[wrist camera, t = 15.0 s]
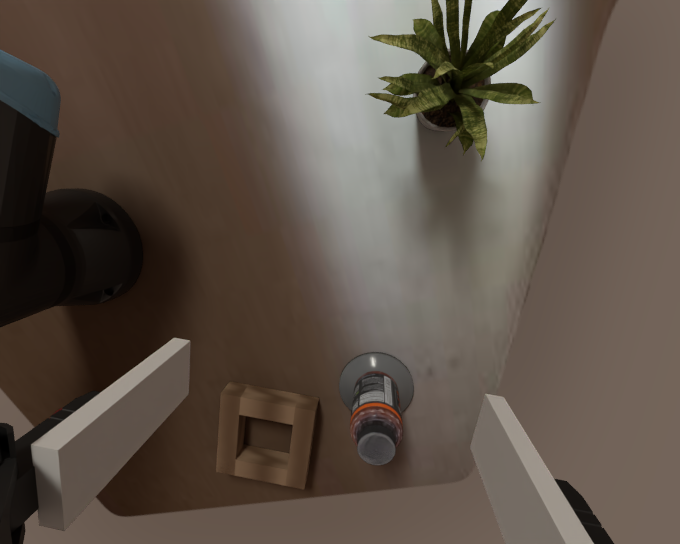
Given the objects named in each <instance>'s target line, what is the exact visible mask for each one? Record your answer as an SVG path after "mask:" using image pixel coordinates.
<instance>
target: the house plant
mask: <svg viewBox="0 0 680 544" xmlns="http://www.w3.org/2000/svg"><path fill="white" fill-rule="evenodd" d="M431 1H432V12H433V24H432V23H431V22H430V21H428V20H426V19H414V20H413V21H414V31H415V33H416V35H415V34H410V35H378V36H374V37H370V38H372V39H373V40H377V41H380V42H383V43H385V44H389V45H393V46H397V47H400V48H404V49H407V50H411V51H414V52H415V53H417V54H419V55H420V56H421V57H422V58H423V59H424V60H425V61H426V62H425V63H424V64H423V66H422V67H421V69H420V70H419V72H418V74H417V73H409V74H404V75H402V76H400V77H387V76H385V77H382V78H379V79H381V80H384V81H387V82H389V83H391V84H389V85H388V86H387V87H386V88H384V89H383V90H387V91H389V92H391V93H392V94H394V95H391V94H382V93H369V94H368V95H371V96H372V97H374V98H376V99H380V100H383V101H387V102H390V103H391V104H392V105H391V106H390V108H389V109H388V110H387V111H386V112H385V113H384V114H388V115H390V116H392V117H405V116H408V115H411V114H415V113H416V114H417V116H418V119H419V121H420V122H421V123H422V124H423V125H424V126H425V127H426V128H428V129H431V130H436V131H453V130H457V131H456V132H455V134H454V135H453V136H452V137H451V139H450V140H449V142H448V143H447V145H446V147H447V146H448V145H449V144H450V143H451V142H452V141H453V140H454V139H455V138H456V137H457V136H458V137H459V140H460V142H461V144H462V146H463V150H464V153H463V155H464V154H465V152H466V151H467V150H468V149H469V147H470V146H471V145H472V144H473V140H474V142H475V145H476V149H477V151H478V153H479V154H480V156H481V158H482V159H483V157H484V155H485V149H486V144H487V128H486V124H485V119H484V112H483V111H484V109H485V107H486V105H487V102H488V100H492V101H495V102H499V103H504V104H534V103H539V102H536V101H534V100H533V97H532V91H531V90H530V89H529V88H528V87H527V86H525V85H523V84H518V83H498V84H491V78H490V76H492V75H493V74H495V73H496V72H498V71H499V70H501V69H502V68H504V67H506V66H507V65H509V64H511V63H513V62H514V61H516V60H517V59H518V58H520V57H521V56H522V55H524V54H525V53H526V52H527V51H528V50H529V49H530V48H531V47H532V46H533V45H534V44H535V43H536V42H537V41H538V40H539V39H540V38H541V37H542V36H543V35H544V34H545V32H546V31H547V30H548V28H549V27H550V26H551V25H552V24H553V22H554V21H555V20H554V21H552V22H550V23H548V24H546V25H545V26H543V27H542V28H541V29H540V30H539V31H538V32H536V33H535V34H533V35H531V34H532V33H533V31H534V30H535V29H536V28H537V27H538V25H539V24H540V23H541V21H542V19H543V18H544V16H545V14H546V13H547V11H548V10H546V11H545V12H544V13H543V14H541V15H540V16H539V17H538V18H537V19H536V20H535V22H534V23H533V24H531V25H529V26H528V27H527V28H525V29H524V30H523V31H522V32H521V33H520V34H519V35H518V36H517V37H515V38H514V39H513V40H512V41H511V42H510V43H509V44H508V45H506V46H505V47H504V48H503V46H504V44H505V40H506V36H507V35H508V34H510V33H511V32H512V31H513V30H514V29H515V28H516V27H517V26H519V25H520V24H521V23H522V22H523V21H525V20H526V19H528V18H530V17H531V16H533V15H534V14H535V13H536V12H537V11H538V10H539V9H541V8H538V9H535V10H533V11H530V12H527V13H525V14H523V15H521V16H519V17H517V18H515V19H513V20H512V18H513V17H514V16H515V15H516V13H517V12H518V11H519V10H520V9H521V8H522V6H523V5H524V4H525V3H526V2H527V0H509V1H508V2H507V3H506V5H505V6H504V7H503V8H502V10H501V11H498V10H496V11H494V12H491V13H490V14H488V15H487V16H486V18H485V19H484V21H483V23H482V25H481V27H480V29H479V32H478V34H477V36H476V38H475V40H474V42H473V43H472V45H471V47H470V48H469V50H467V43H468V29H469V21H470V14H471V6H472V0H465V5H464V14H463V27H462V41H461V48H460V39H459V0H446V15H447V33H448V37H449V43H450V49H447V47H446V43H445V37H444V28H443V14H442V11H441V8H440V5H439V3H438V0H431ZM548 9H549V8H548ZM556 18H557V17H556ZM410 94H413V97H412V98H404V97H400V96H403V95H410ZM365 95H366V94H365ZM395 95H399V96H395ZM446 147H445V148H446ZM481 161H482V160H481Z"/></svg>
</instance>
